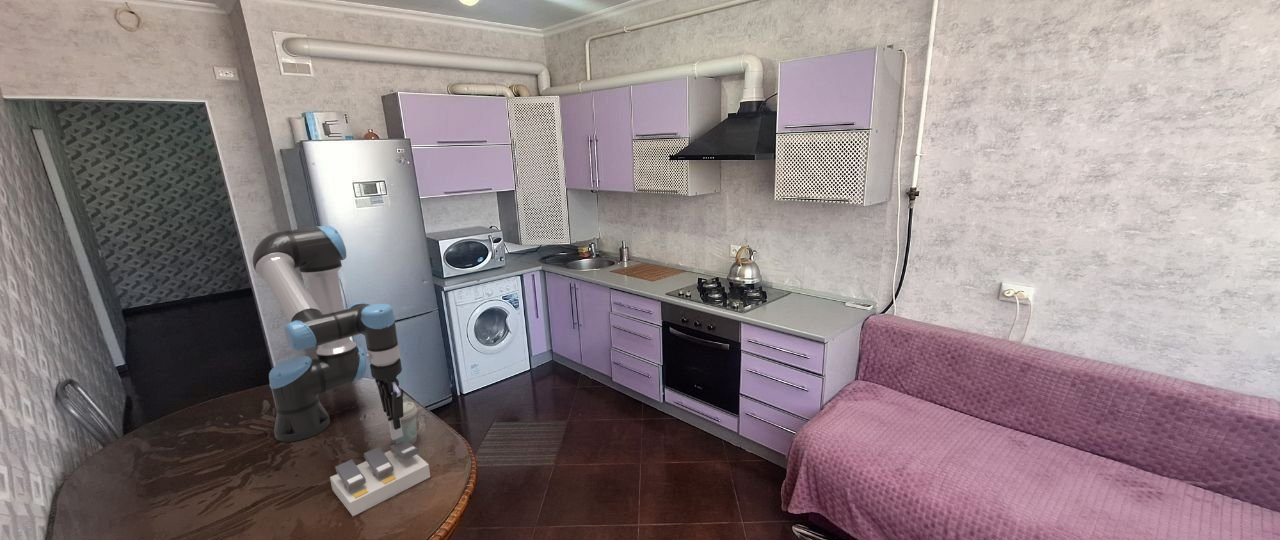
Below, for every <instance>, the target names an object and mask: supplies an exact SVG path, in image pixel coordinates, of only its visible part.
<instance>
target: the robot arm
mask: <svg viewBox="0 0 1280 540" xmlns="http://www.w3.org/2000/svg"><path fill="white" fill-rule="evenodd" d="M346 258H347V248H346V245H345V242H344V240H343V237H342V236H341V234H340V233H339V231H338V230H337V229H336V228H335V227H333V226H331V225H321V226H320V225H319V226H318V225H317V226H311V227H310V226H309V227H305V228H295V229H290V230H281V231H276V232H273V233H270V234H269V235H267V236H265V237H264V238H263V239H261V241H260V242H259V243H258V244H257V245H256V246H255V249H254V251H253V255H252V262H251V263H252V266H253V269H254V270H255V273H256V274H257V276H258V277H259V278H260V279H263V280H265V282H266V284H267V286H268V288H269V289H270V291H271V292H272V295H273V297H274V298H275V300H276V301H277V304H278V305H279V306H280V309H281V310H282V312H283V313H284V316H285V317H286V319H287V321H288V323H286V324H285V326H284V331H285V332H284V333H285V338H286V340H287V343H288V345H289V347H290V348H291V349H292V350H293V351H301V350H306V349H307V350H308V349H312V348H313V349H314V348H315V347H318V346H319V347H318V348H317V349H316V356H317V357H314V358H311V357H310V356H307V355H300V356H296V357H295V356H294V357H292V358H288V359H286V360H284V361H282V362H279V363H278V364H276V365H275V366H274V367H273V368H271V370H270V371H269V373H268V380H269V388H270V389H271V393H272V397H273V401H274V406H275V410H276V418H275V423H274V427H273V428H274V429H273V433H274V437H275V439H276V441H279V442H284V443H290V442H298V441H302V440H305V439H309V438H311V437H314V436H316V435H317V434H319V433H321V432H323V431H324V430H325V429H327V427H328V426H330V424H331V420H330V415H329V413H328V412H327V410H326V409H325V408H324V406H323V405H322V403H321V402H320V398H319V395H320V394H323V393H326V392H330V391H332V390H335V389H339V388H341V387H344V386H346V385H352V384H353V383H356V382H358V381H360V380H362V379H363V378H364V377H365V375H366V372H367V358H368V361H369V363H370V365H369V369H370V375H371V377H372V378H373V379H374V380H375V384H376V386H377V390H378V393H379V398H380V401H381V406H382V409H383V412H384V413H385V414H386V415H385V416H386V417H387V416H388V417H389V418H388V419H387V421H388V427H389V434H390V438H391V439H392V440H393V441H395V439H397V438H400V437H402V436H403V432H402V425H401V419H400V418H401V417H403V402H404V399H403V398H404V397H403V396H404V389H403V388H400V387H399V386H400V382H399V379H398V378H397V377H398V375H400V374H401V373H402V370H403V368H402V361H401V352H400V347H399V342H398V334H397V327H396V315H395V314H394V309H393V307H392V306H391V305H390V304H388V303H374V304H369V303H365V302H360V301H359V302H355V303H352V304H351V305H350V306H348V307H347V308H346V309H345V305H344V299H343V295H342V290H341V284H340V278H339V270H341V268H342V266H343V265H342V264H343V263H342V261H344V260H345V259H346ZM297 268H298V269H299V273H300V274H302V275H304V276H305V277H306V279H307V284H308V288H307V287H306V284H304V282H303V281H302V278H301V277H300V275H299V274H298V271H296V269H297ZM308 289H309V290H308ZM358 335H363V336H364V338H365V344H366V350H367V354H366V355H365V351H364V349H363V348H362V347H361V346H359V345H357V342H356V341H353V340H352V339H351V337H354V336H358Z"/></svg>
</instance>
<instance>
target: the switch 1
mask: <svg viewBox="0 0 1280 540" xmlns="http://www.w3.org/2000/svg"><path fill="white" fill-rule="evenodd" d="M335 472H336V474H338V475H339V477H340V478H341V479H342V481H343V482H344V484H345V485H346V487H347V488H348V490H349V491H350V490H352V489H355V488H357V487H359V486H361V485H363V484H365V483H366V479H365V477H364V476H363V474H362V473H361V471H360V470H359V469H358V467H357V466H356V463H355V462H354V460H353V459H350V460H349V459H348V461H345V462H343V463H340V464H337V465H335Z"/></svg>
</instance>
